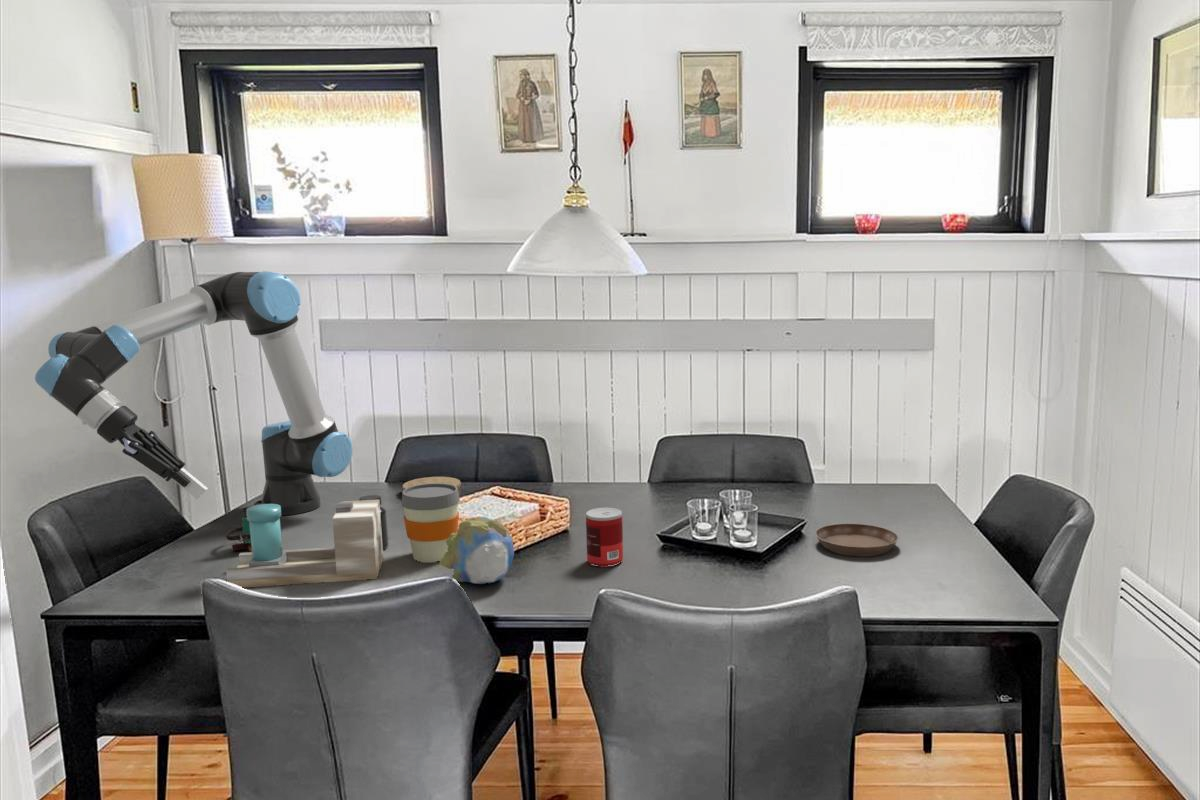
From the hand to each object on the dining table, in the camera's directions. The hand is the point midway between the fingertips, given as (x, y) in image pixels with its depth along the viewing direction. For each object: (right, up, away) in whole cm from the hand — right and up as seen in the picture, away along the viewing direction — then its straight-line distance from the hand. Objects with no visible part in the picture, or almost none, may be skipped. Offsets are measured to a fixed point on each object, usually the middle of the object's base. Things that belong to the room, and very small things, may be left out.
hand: (202, 493), depth 197 cm
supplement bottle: (+30, -15, +21) cm, 40 cm away
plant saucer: (+139, -13, +14) cm, 140 cm away
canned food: (+83, -16, +8) cm, 85 cm away
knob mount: (+20, -17, +6) cm, 27 cm away
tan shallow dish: (+36, -7, +68) cm, 77 cm away
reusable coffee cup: (+45, -15, +15) cm, 50 cm away
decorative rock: (+57, -18, -1) cm, 60 cm away
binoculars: (+1, -15, +24) cm, 28 cm away
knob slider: (+12, -16, +4) cm, 21 cm away
